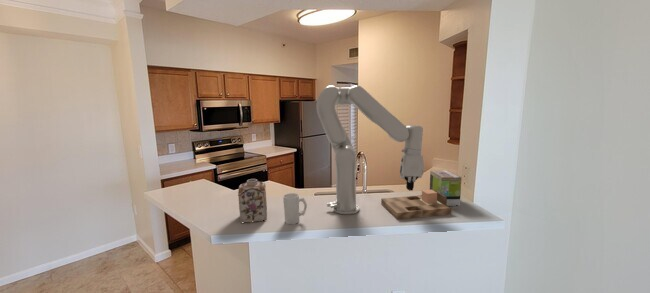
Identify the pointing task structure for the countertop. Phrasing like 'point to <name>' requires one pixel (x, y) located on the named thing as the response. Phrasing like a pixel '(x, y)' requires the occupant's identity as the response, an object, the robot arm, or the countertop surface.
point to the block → (429, 196)
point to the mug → (293, 208)
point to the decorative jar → (252, 201)
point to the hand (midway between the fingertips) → (409, 189)
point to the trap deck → (416, 206)
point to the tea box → (446, 185)
